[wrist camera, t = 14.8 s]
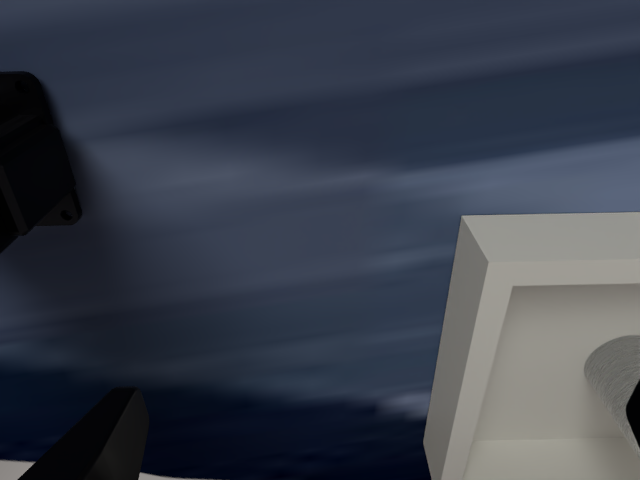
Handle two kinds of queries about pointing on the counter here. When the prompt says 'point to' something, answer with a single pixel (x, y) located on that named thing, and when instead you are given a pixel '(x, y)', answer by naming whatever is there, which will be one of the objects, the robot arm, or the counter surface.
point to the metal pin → (616, 378)
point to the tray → (533, 348)
